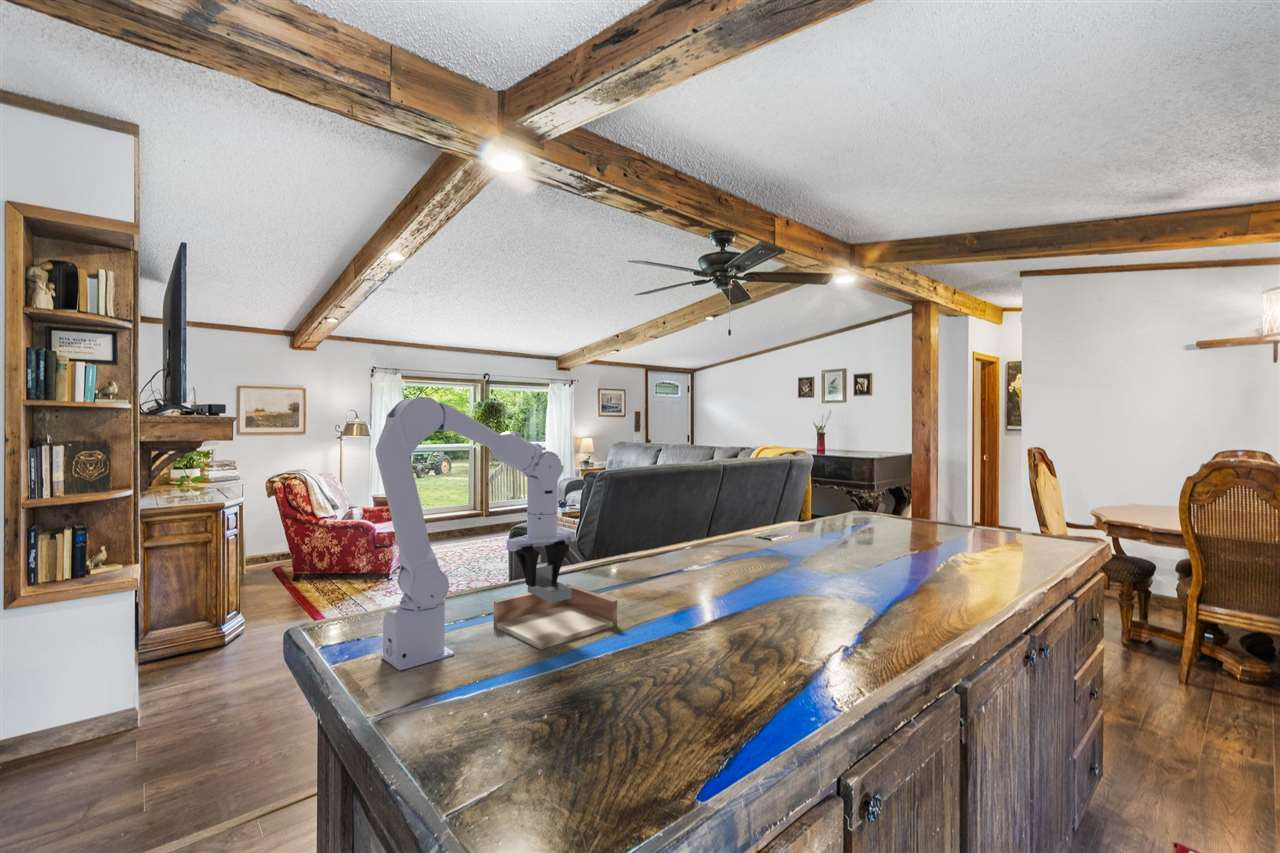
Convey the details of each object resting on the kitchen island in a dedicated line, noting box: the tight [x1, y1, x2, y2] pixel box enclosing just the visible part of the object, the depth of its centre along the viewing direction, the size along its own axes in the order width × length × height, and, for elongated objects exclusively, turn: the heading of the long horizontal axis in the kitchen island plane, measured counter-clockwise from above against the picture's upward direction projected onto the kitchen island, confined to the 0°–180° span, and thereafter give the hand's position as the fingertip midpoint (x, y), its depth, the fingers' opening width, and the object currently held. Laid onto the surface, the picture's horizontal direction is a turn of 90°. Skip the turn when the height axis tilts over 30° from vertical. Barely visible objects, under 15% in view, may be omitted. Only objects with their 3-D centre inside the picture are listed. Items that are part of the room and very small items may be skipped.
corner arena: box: [493, 583, 618, 650], centre depth 114 cm, size 18×16×5 cm
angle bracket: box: [527, 562, 572, 603], centre depth 110 cm, size 8×4×5 cm, turn 44°
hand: (541, 583), depth 112 cm, fingers closed on angle bracket, 4 cm apart
